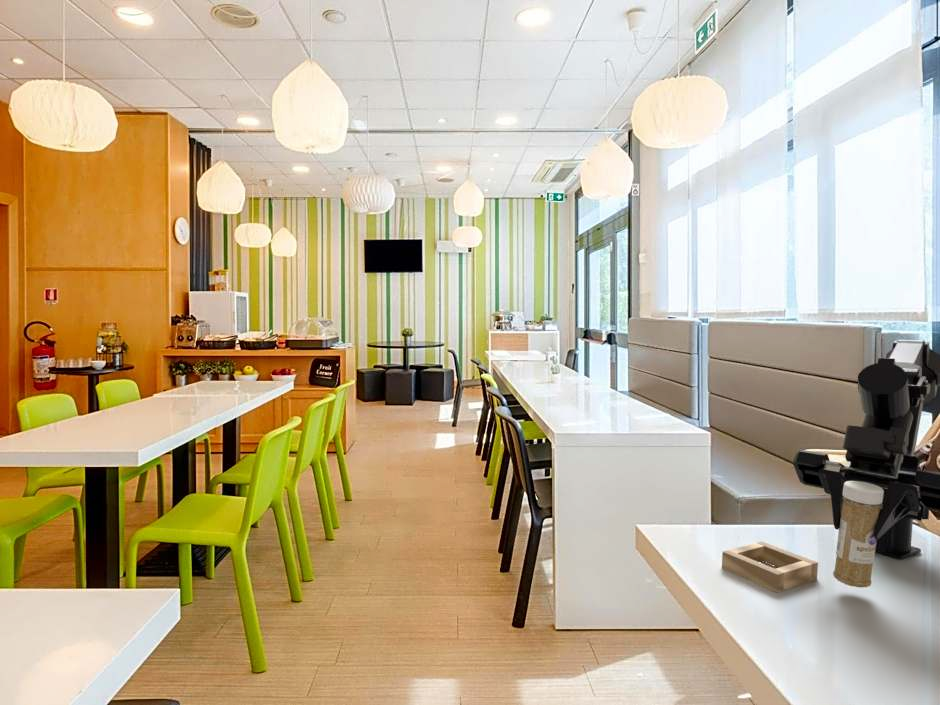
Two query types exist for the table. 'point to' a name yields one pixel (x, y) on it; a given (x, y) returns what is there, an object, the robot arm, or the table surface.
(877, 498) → the sprinkles bottle
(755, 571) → the block
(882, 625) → the table surface
